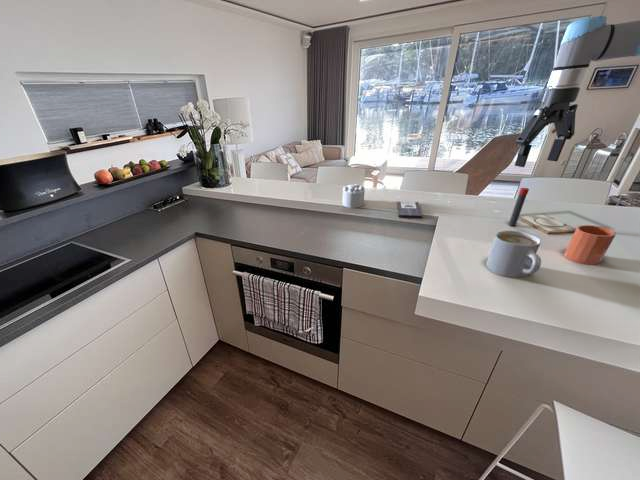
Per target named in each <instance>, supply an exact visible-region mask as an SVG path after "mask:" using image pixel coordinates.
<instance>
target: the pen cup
mask: <svg viewBox="0 0 640 480" xmlns="http://www.w3.org/2000/svg"><path fill="white" fill-rule="evenodd" d="M575 228H576V230H575V232H573V235H572V237H571V239H570V241H569V243H568V245H567V247H566V250H565V251H564V254H563V256H564V257H565V258H566V259H567V260H569V261H571V262H575V263H578V264H582V265H588V266H589V265H592V266H593V265H594V266H595V265H598V264H600V263H601V262H602V260H603V258H604V257H605V255H606V253H607V251H608V249H609V248H610V246H611V244H612V242H613V240H614V239H615V237H616V234H617V233H616V232H615V231H614V230H613V229H609V228H608V227H604V226H599V225H594V224H593V225H591V224H583V225H578V226H576V227H575Z"/></svg>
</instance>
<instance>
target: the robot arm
mask: <svg viewBox="0 0 640 480" xmlns="http://www.w3.org/2000/svg"><path fill="white" fill-rule="evenodd" d="M607 20H608V16H606V15H596V16H590V17H584V18H580V19H576V20H573V21H572V22H571V23H570V24H568V26H567V28H566V29H565V32H564V35H563V37H562V40H561V42H560V46H559V49H558V53H557V56H556V59H555V62H554V65H553V67H552V68H553V69H552V71H551V74H550V77H549V80H548V83H547V87H548V88H547V89H546V90H545V91H544V94H543V97H542V101H541V103H542V104H544V105H543V108H542V107H536V108H534V109H533V111H532V114H531V116H530V118H529V120H528V121H527V123H525V126H524V127H523V129H522V130H521V131H520V134H519V135H518V137H517V138H516V140H515V144H517V145H519V148H518V152H517V157H516V160H515V163H514V167H519V168H525V166H526V163H527V160H528V158H529V156H530V152H531V149H532V146H533V145H532V144H531V143H532V142H533V141H534V140H535V139H536V138H537V137H538V135H540V133H541V132H542V131H543V129H545V128H546V127H547V126H549V125H550V124H553V125H554V128H555V134H556V137H557V138H555V139H554V140H553V143H552V145H551V148H550V151H549V154H548V157H547V158H546V161H550V162H558V161H559V158H560V156H561V153H562V150H563V149H564V146H565V143H566V141H567V140H571V139H572V137H574V136H575V133H576V132H575V130H576V129H575V128H576V114H577V109H578V107H579V105H578V103H577V104H576V103H574V102H576V100H577V98H578V97H579V93H580V90H581V87H580V86H581V85H583V84H584V81H585V78H586V74H587V72H588V69H589V67H590V64H591V62H600V61H604V60H612V59H619V58H628V57H629V58H630V57H633V58H634V57H639V56H640V19H639V20H634V21H627V22H620V23H614V24H612V23H611V24H607ZM571 103H572V104H571Z"/></svg>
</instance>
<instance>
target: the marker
mask: <svg viewBox="0 0 640 480" xmlns="http://www.w3.org/2000/svg"><path fill="white" fill-rule="evenodd" d="M529 191H530V188H528V187H520V189H519V192H518V195H517V198H516V201H515V204H514V206H513V209H512V210H513V211H512V213H511V216H510V218H509V221H508V226H509V227H516V226H517V223H518V220H519V219H518V218H519V216H521V212H522V209H523V206H524V204H525V201H526V198H527V195H528V194H529Z"/></svg>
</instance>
